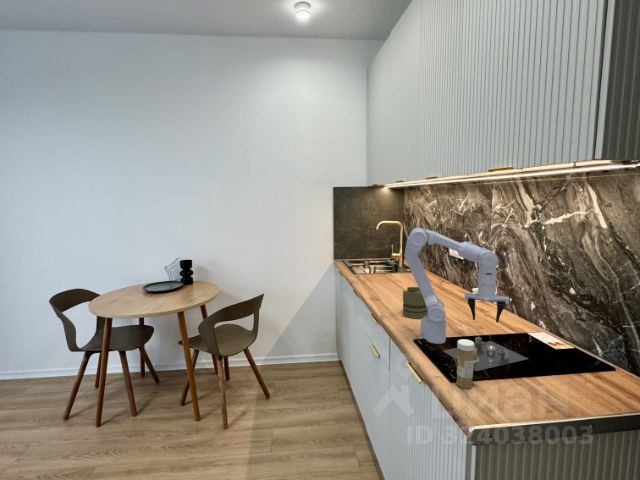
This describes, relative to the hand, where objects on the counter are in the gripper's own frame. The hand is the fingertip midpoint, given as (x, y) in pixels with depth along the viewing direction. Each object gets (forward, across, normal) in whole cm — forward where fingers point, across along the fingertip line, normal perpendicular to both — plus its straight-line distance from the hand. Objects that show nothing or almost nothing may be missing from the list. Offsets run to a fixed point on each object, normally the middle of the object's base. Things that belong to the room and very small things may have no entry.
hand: (485, 320), depth 133 cm
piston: (+10, -30, +26) cm, 40 cm away
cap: (+9, -5, -15) cm, 18 cm away
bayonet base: (+10, 0, -10) cm, 14 cm away
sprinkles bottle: (+10, -5, -32) cm, 34 cm away
